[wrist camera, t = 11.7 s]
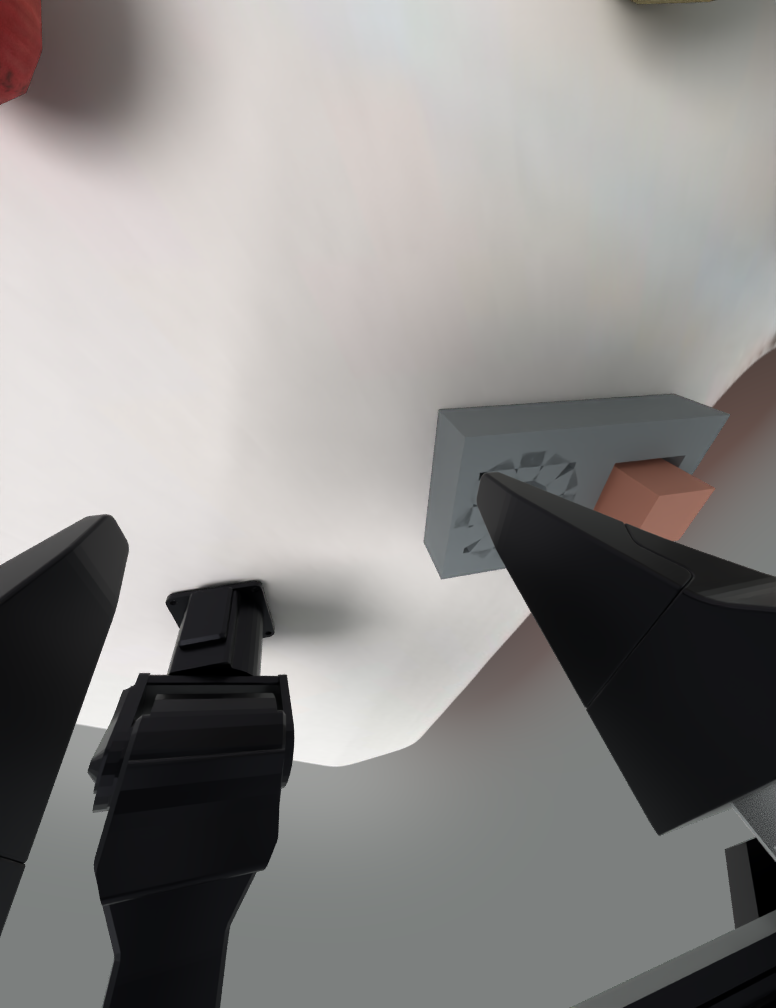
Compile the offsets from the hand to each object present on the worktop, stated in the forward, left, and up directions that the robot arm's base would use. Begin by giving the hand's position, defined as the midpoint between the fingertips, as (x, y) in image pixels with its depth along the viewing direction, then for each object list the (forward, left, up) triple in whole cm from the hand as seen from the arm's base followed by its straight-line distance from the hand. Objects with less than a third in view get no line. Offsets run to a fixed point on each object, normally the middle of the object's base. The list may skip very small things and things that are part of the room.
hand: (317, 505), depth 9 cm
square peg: (-8, -21, -12) cm, 26 cm away
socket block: (-8, -17, -12) cm, 22 cm away
